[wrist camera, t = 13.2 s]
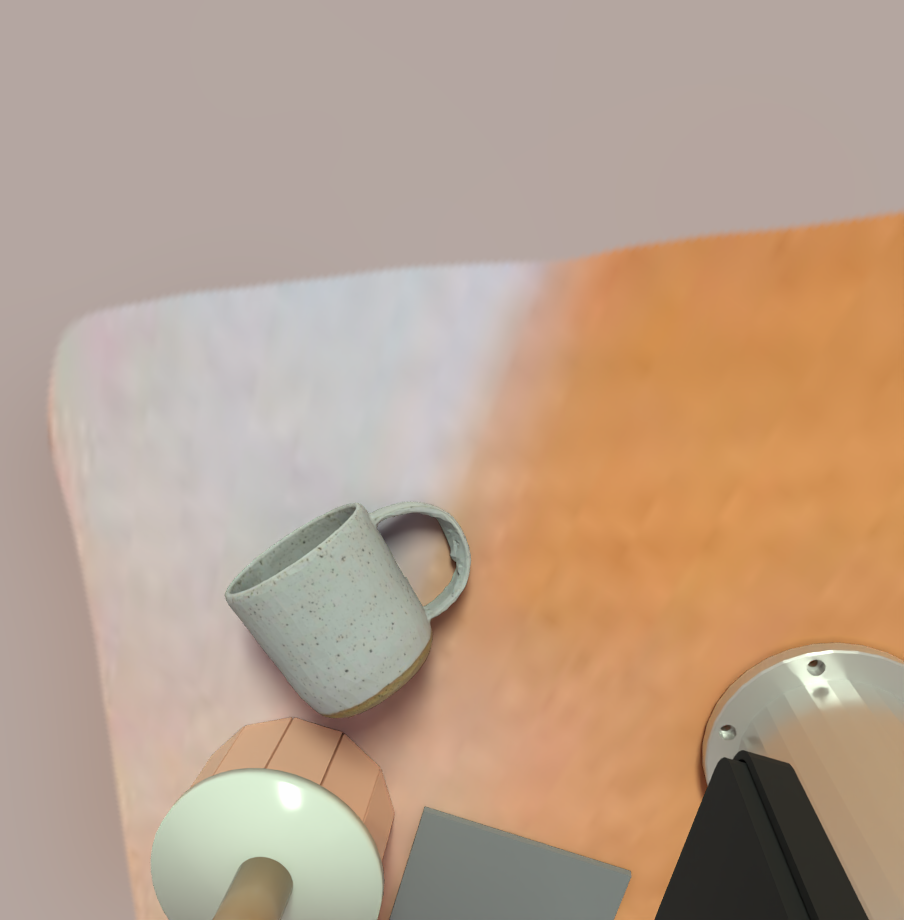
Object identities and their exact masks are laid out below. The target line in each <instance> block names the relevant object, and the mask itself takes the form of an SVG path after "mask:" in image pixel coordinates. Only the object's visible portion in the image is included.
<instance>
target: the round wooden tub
mask: <svg viewBox="0 0 904 920" xmlns="http://www.w3.org/2000/svg"><path fill="white" fill-rule="evenodd" d="M341 735H342V732H340V731H337V730H333V729H330V728H327V727H324V726H321V725H317V724H314V723H311V722H308V721H304V720H301V719H298V718H295V717H294V719H292V717H290V718H285V719H279V720H274V721H268V722H262V723H257V724H251V725H246V726H245V727H243V728H241V729H240V730H239V731H238V732H237V733H236V734H235V735H234V736H233V737H232V738H230V739H229V740H228V741H227V742H226V743H225V744H224V745H223V746H222V747H220V748H219V749H218V750H217V751H216V752H215V753H214V754H213V755H212V756H211V757H210V759H209V760H208V762H207V763H206V765H205V766H204V768H203V769H202V771H201V772H200V774H199V775H198V777H197V778H196V780H195V781H194V783H193V784H192V786H191V787H193V786H194V785H195V784H197V783H199V782H200V781H202V780H204V779H206V778H208V777H211V776H213V775H216V774H218V773H221V772H226V771H230V770H234V769H244V768H266V769H273V770H280V771H284V772H288V773H292V774H296V775H298V776H301V777H303V778H306V779H309V780H311V781H313V782H315V783H317V784H319V785H321V786H323V787H324V788H326V789H327V790H329V791H330V792H332V793H333V794H335V795H336V796H338V797H339V798H340V799H341V800H342V801H344V802H345V803H346V804H347V805H348V806H349V807H350V808H351V809H352V810H353V811H354V812H355V813H356V814H357V815H358V816H359V817H360V819H361V820H362V822H363V823H364V824H365V826H366V827H367V828H368V830H369V832H370V834H371V835H372V837H373V839H374V841H375V843H376V846H377V848H378V851H379V853H380V857H381V861H382V859H383V855H384V852H385V848H386V844H387V841H388V837H389V833H390V829H391V826H392V822H393V818H394V809H393V806H392V803H391V799H390V796H389V793H388V790H387V786H386V783H385V780H384V777H383V773H382V770H379V769H380V767H379V766H378V765H377V764H376V763H375V762H374V761H373V760H372V759H371V758H370V757H369V756H367V755H366V754H365V753H364V752H363V751H362V750H361V749H360V748H359V747H358V746H357V745H356V744H355V743H354V742H353V741H352V740H351V739H350V738H349V737H348V736H347V735H345V734H343V735H342V736H341ZM191 787H190V788H191Z"/></svg>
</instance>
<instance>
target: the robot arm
mask: <svg viewBox="0 0 904 920" xmlns="http://www.w3.org/2000/svg"><path fill="white" fill-rule="evenodd" d="M813 660H814V662H812V663H809V662H810V661H813ZM725 725H727V726H725ZM702 764H703V769H704V773H705V778H706V783H707V786H708V787H707V789H706V792H705V794H704V797H703V799H702V802H701V804H700V807H699V809H698V812H697V814H696V817H695V819H694V822H693V824H692V827H691V829H690V832H689V834H688V837H687V839H686V842H685V844H684V847H683V849H682V852H681V854H680V857H679V859H678V862H677V864H676V867H675V869H674V872H673V874H672V877H671V879H670V882H669V884H668V887H667V889H666V892H665V894H664V897H663V899H662V902H661V904H660V907H659V909H658V912H657V914H656V917H655V920H904V661H903V660H901V659H899V658H897V657H895V656H893V655H891V654H889V653H887V652H884V651H881V650H877V649H874V648H871V647H867V646H864V645H855V644H847V643H821V644H811V645H807V646H802V647H797V648H793V649H789V650H786V651H784V652H781V653H779V654H776V655H774V656H771V657H769V658H767V659H765V660H763V661H762V662H760V663H759V664H757V665H755V666H754V667H752V668H751V669H749V670H747V671H746V672H745V673H744V674H743V675H742V676H740V677H739V678H738V679H737V680H736V681H735V682H734V683H733V684H732V685H731V686H729V688H728V689H727V690H726V692H725V693H724V694H723V696H722V697H721V698H720V700H719V701H718V702H717V704H716V706H715V708H714V710H713V712H712V714H711V716H710V718H709V721H708V723H707V726H706V731H705V735H704V739H703V750H702Z"/></svg>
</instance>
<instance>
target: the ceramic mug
mask: <svg viewBox="0 0 904 920" xmlns="http://www.w3.org/2000/svg"><path fill="white" fill-rule="evenodd" d="M408 513H420V514H425V515H430V516H431V517H436V518H437V520H438V521H439V524H440V526H441V528H442V530H443V532H444V533H445V535H446V538H447V540H448V543H449V545H450V548H451V552H450V556H451V557H452V559H453V560H454V561H455V562H456V569H455V572H454V574H453V577H452V580H451V582H450V583H449V585H448V586H447V587H445V589H444V591H443V592H442V593H441V594H440V595H439V596H437V597H436V598H435V599H434V600H433V601H432V602H430V603H429V604H428V605H426V606H424V607H423V606H422V604H421V602H420V601H419V599H418V598H417V596H416V594H415V592H414V591H413V589H412V587H411V586H410V584H409V582H408V580H407V578H406V577H404V575H403V573H402V572H401V570H400V568H399V567H398V565H397V563H396V561H395V559H394V557H393V555H392V553H391V552H390V550H389V548H388V546H387V545H386V543H385V541H384V539H383V538H382V536H381V534H380V532H379V531H378V529H377V526H378V524H379V523H380V522H381V521H383V520H385V519H387V518H390V517H395V516H398V515H403V514H408ZM470 564H471V554H470V550H469V545H468V543H467V540H466V537H465V535H464V533H463V531H462V529H461V527H460V525H459V524H458V523H457V521H456V520H455V519H454V518H453V517H452V516H451V515H450V514H449V513H447V512H446V511H444V510H442V509H440V508H438V507H436V506H434V505H431V504H427V503H421V502H401V503H397V504H393V505H390V506H387V507H384V508H381V509H378V510H376V511H374V512H372V513H368V512H367V510H366V509H365V508H364V507H363V506H362V505H361V504H359V503H353V504H347V505H344V506H341V507H338V508H335V509H333V510H331V511H330V512H328V513H326V514H324V515H322V516H319V517H317V518H315V519H313V520H312V521H310V522H308V523H307V524H305V525H303V526H302V527H300V528H298V529H296V530H295V531H293V532H292V533H291V534H289V535H287V536H286V537H284V538H283V539H282V540H280V541H279V542H277V543H276V544H274V545H273V546H271V547H270V548H269V549H267V550H266V551H265V552H263V553H262V554H261V555H259V556H258V557H257V558H255V559H254V560H253V561H252V562H251V563H250V564H249V565H248V566H247V567H245V568H244V569H243V571H242V572H241V573H240V574H238V576H237V577H236V578H235V579H234V580H233V581H232V583H231V584H230V585H229V587H228V588H227V591H226V593H225V598H226V601H227V603H228V605H229V606H230V607H231V609H232V610H233V611H234V612H235V613H236V615H237V616H238V617H239V618H240V620H241V621H242V622H243V623H244V625H245V626H246V627H247V629H248V630H249V631H250V632H251V634H252V635H253V636H254V638H255V639H256V640H257V642H258V643H259V644H260V646H261V647H262V648H263V650H264V651H265V652H266V654H267V655H268V656H269V657H270V658H271V660H272V661H273V662H274V663H275V664H276V666H277V667H278V668H279V670H280V671H281V672H282V674H283V675H284V676H285V678H286V679H287V681H288V682H289V683H290V685H291V686H292V687H293V688H294V690H295V691H296V692H297V693H298V695H299V696H300V697H301V698H302V699H303V700H304V701H305V702H306V703H308V704H309V705H310V706H311V707H312V708H313V709H314V710H315V711H317V712H318V713H320V714H321V715H323V716H325V717H329V718H346V717H351V716H354V715H357V714H360V713H362V712H364V711H367V710H369V709H371V708H372V707H374V706H376V705H378V704H379V703H381V702H382V701H384V700H385V699H387V698H388V697H389V696H391V695H392V694H394V693H395V692H397V691H398V690H399V689H400V688H401V687H402V686H403V685H404V684H406V683H407V682H408V681H409V680H410V679H411V678H412V677H413V676H414V675H415V674H416V673H417V671H418V670H419V669H420V668H421V666H422V665H423V663H424V662H425V661H426V659H427V656H428V654H429V652H430V649H431V644H432V640H433V637H432V630H431V626H430V621H431V620H432V618H434V617H436V616H439V615H440V614H441V613H442V612H443V611H445V610H447V609H448V608H449V606H450V605H452V604H453V603H454V602H455V601H456V600H457V598H458V597H459V595H460V594H461V592H462V591H463V590H464V588H465V586H466V584H467V580H468V576H469V572H470Z"/></svg>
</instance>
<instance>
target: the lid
mask: <svg viewBox="0 0 904 920" xmlns="http://www.w3.org/2000/svg"><path fill="white" fill-rule="evenodd" d="M151 875H152V881H153V886H154V889H155V892H156V895H157V898H158V900H159V903H160V905H161V907H162V909H163V911H164V913H165V914H166V916H167V917H168V919H169V920H377V919H378V915H379V911H380V907H381V903H382V898H383V893H384V872H383V865H382V861H381V857H380V853H379V851H378V848H377V846H376V843H375V841H374V839H373V837H372V835H371V834H370V832H369V830H368V828H367V827H366V826H365V824H364V823H363V822H362V820H361V819H360V817H359V816H358V815H357V814H356V813H355V812H354V811H353V810H352V809H351V808H350V807H349V806H348V805H347V804H346V803H345V802H344V801H342V800H341V799H340V798H339V797H338V796H336V795H335V794H333V793H332V792H330V791H329V790H327V789H326V788H324V787H323V786H321V785H319V784H317V783H315V782H313V781H311V780H309V779H306V778H303V777H301V776H298V775H296V774H292V773H288V772H284V771H280V770H273V769H266V768H244V769H234V770H230V771H226V772H221V773H218V774H216V775H213V776H211V777H208V778H206V779H204V780H202V781H200V782H199V783H197V784H195V785H194V786H193V787H191V788H190V789H189V790H187V791H186V792H185V793H184V794H183V795H182V796H181V797H180V798H179V799H178V800H177V801H176V802H175V804H174V805H173V807H172V808H171V809H170V811H169V812H168V814H167V815H166V817H165V818H164V820H163V821H162V823H161V825H160V827H159V829H158V831H157V833H156V836H155V839H154V842H153V846H152V853H151Z"/></svg>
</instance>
